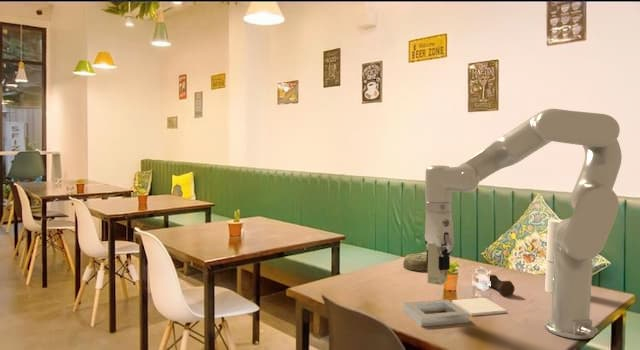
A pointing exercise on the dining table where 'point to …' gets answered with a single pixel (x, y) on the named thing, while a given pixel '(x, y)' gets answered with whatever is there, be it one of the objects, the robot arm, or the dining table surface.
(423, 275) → the dining table surface
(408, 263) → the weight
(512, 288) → the dark brown dumbbell
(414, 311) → the socket block
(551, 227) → the cylindrical container
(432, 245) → the grey upright block
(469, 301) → the tile
